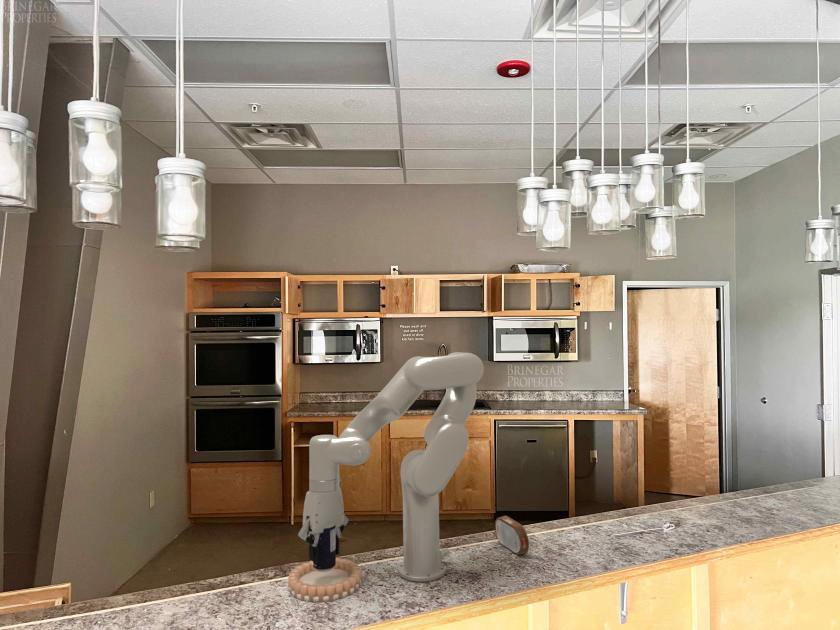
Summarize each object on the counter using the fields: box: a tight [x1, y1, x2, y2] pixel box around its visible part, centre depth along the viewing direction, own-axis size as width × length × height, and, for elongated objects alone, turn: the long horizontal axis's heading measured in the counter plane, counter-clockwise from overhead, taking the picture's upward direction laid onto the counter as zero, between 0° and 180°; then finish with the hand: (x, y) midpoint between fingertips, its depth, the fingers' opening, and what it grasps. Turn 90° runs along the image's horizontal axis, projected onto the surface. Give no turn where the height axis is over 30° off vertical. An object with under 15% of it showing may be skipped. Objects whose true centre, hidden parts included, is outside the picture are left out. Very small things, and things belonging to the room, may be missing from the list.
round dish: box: [287, 557, 363, 603], centre depth 136 cm, size 18×18×3 cm
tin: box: [494, 515, 530, 556], centre depth 157 cm, size 15×3×8 cm, turn 22°
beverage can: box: [313, 522, 337, 572], centre depth 137 cm, size 6×6×12 cm
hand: (324, 556), depth 137 cm, fingers closed on beverage can, 5 cm apart
